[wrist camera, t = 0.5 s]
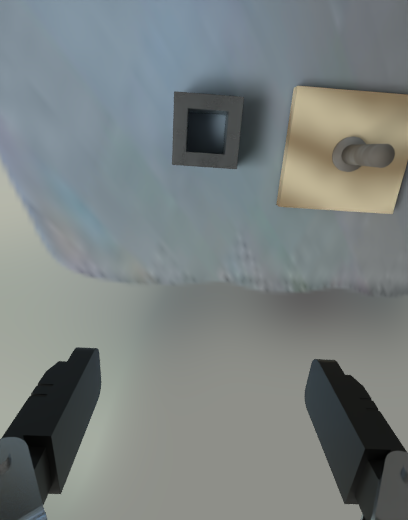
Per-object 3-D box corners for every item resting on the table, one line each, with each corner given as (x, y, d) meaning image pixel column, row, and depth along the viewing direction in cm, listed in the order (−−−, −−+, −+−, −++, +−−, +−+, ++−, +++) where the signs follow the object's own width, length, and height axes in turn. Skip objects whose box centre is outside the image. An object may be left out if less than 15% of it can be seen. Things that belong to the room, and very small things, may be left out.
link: (176, 97, 29) (174, 91, 26) (239, 102, 29) (243, 97, 26) (174, 163, 31) (172, 164, 28) (233, 167, 31) (236, 169, 28)
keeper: (293, 88, 29) (322, 69, 22) (417, 98, 29) (483, 82, 22) (276, 204, 32) (296, 219, 26) (385, 211, 33) (434, 228, 26)
